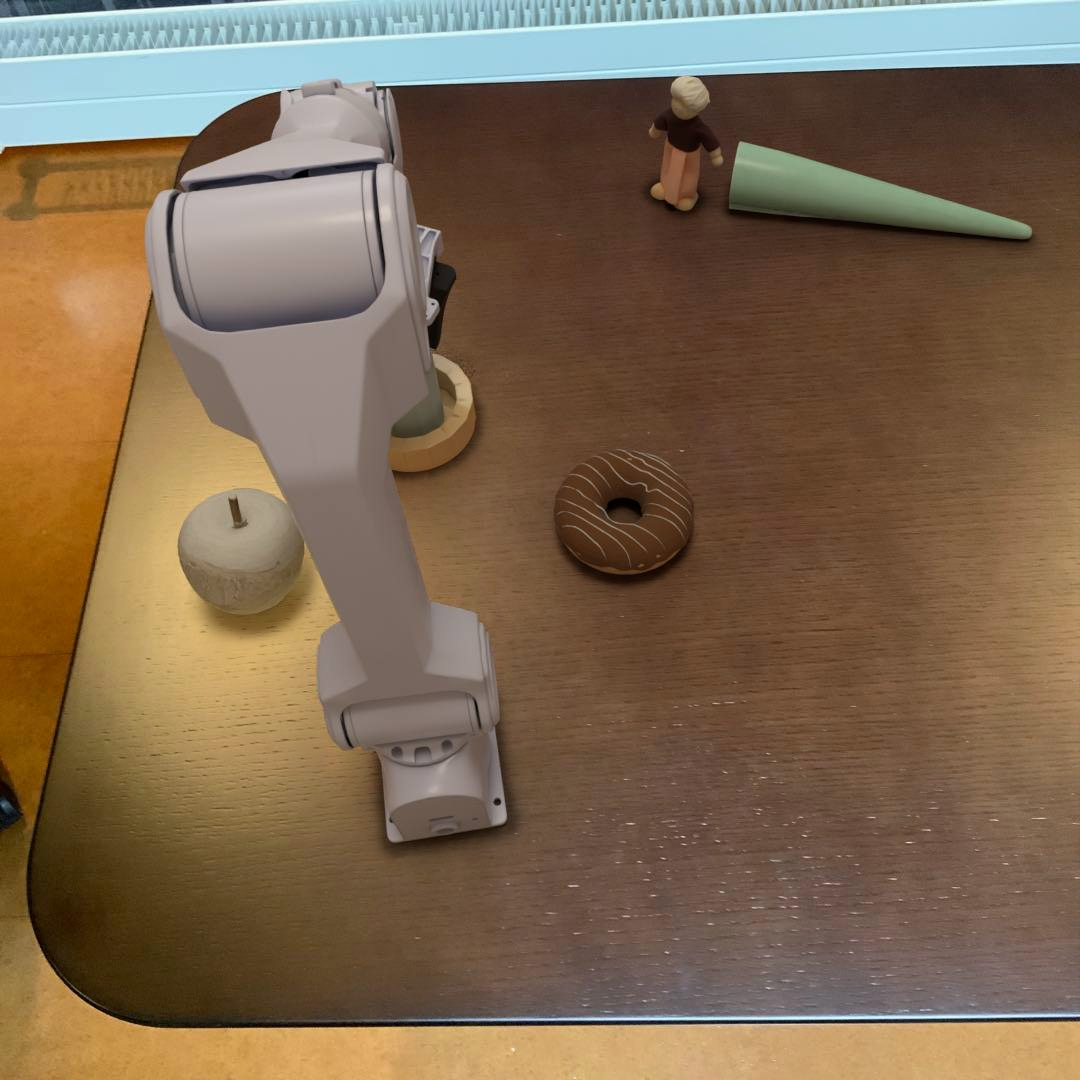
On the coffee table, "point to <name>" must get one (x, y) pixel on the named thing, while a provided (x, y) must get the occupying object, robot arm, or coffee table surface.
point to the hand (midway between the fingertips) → (404, 378)
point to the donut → (622, 542)
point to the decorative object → (241, 550)
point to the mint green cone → (849, 196)
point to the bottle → (423, 411)
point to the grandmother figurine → (684, 143)
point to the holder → (450, 435)
